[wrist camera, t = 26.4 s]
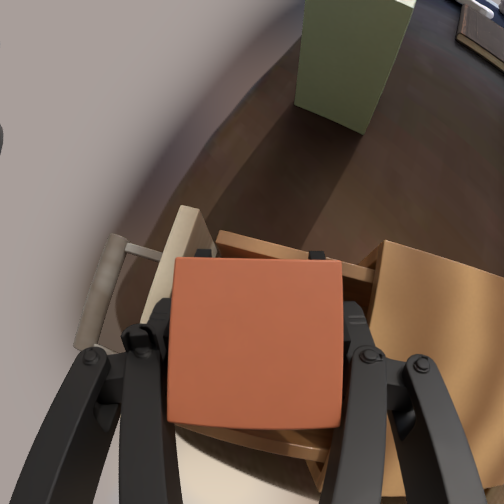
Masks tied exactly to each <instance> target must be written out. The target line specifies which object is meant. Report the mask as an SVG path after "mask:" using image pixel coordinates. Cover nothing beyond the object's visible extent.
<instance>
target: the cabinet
mask: <svg viewBox="0 0 504 504" xmlns="http://www.w3.org/2000/svg"><path fill="white" fill-rule="evenodd" d="M358 266H361V267H365V268H369V269H373V270H375V275H374V281H373V286H372V292H371V297H370V302H369V307H368V312H367V317H366V321H367V324H368V326H369V329H370V332H371V335H372V337H373V340H374V343H375V346H376V347H377V348H379V349H381V350H382V351H383V352H384V354H385V356H386V357H387V358H389V359H393V360H398V361H404V362H406V361H407V359H408V358H409V357H410V356H411V355H415V354H423V355H426V356H429V357H430V358H431V359H433V360H434V362H435V363H436V365H437V367H438V369H439V371H440V373H441V376H442V378H443V380H444V382H445V385H446V387H447V389H448V392H449V394H450V396H451V399H452V401H453V404H454V406H455V409H456V411H457V414H458V416H459V419H460V421H461V424H462V427H463V429H464V432H465V435H466V437H467V440H468V443H469V446H470V449H471V451H472V454H473V457H474V460H475V463H476V467H477V470H478V473H479V476H480V479H481V483H482V486H483V489H484V488H490V487H495V486H499V485H504V278H503V277H500V276H497V275H494V274H491V273H488V272H485V271H482V270H479V269H476V268H473V267H470V266H467V265H464V264H461V263H458V262H455V261H452V260H449V259H446V258H443V257H440V256H436V255H433V254H430V253H427V252H424V251H420V250H417V249H414V248H411V247H407V246H404V245H401V244H397V243H394V242H390V241H387V240H384V241H383V242H382V243H381V244H380V245H379V246H377V247H376V248H375V249H374V250H373V251H372V252H371V253H370V254H369V255H368V256H367V257H366V258H364V259H363V260H362V261H361V262H360V263H359V264H358ZM330 448H331V447H330ZM329 454H330V450H329V453H328V456H327V458H326V461H325V463H324V462H317V461H311V460H305V461H306V463H307V466H308V468H309V471H310V473H311V475H312V478H313V480H314V483H315V485H316V487H317V489H318V492H322V488H323V483H324V478H325V474H326V469H327V464H328V459H329ZM381 496H386V497H395V496H406V495H405V489H404V484H403V479H402V474H401V470H400V465H399V460H398V456H397V451H396V447H395V443H394V439H393V435H392V430H391V426H390V422H389V419H388V415H387V428H386V449H385V463H384V475H383V486H382V495H381Z"/></svg>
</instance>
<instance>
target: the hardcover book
mask: <svg viewBox="0 0 504 504" xmlns="http://www.w3.org/2000/svg"><path fill="white" fill-rule="evenodd" d="M456 40H457V41H458V42H459V43H461V44H462V45H464V46H466V47H467V48H469V49H470V50H472V51H473V52H475V53H476V54H478V55H479V56H481V57H482V58H484V59H485V60H486V61H488V62H489V63H491V64H492V65H493V66H495V67H496V68H497V69H499V70H500V71H501V72H503V73H504V29H503V28H502V27H500V26H499V25H498V24H496V23H495V22H493V21H492V20H490V19H489V18H487V17H486V16H484V15H483V14H481V13H480V12H478V11H477V10H475V9H473V8H472V7H470V6H468V5H467V4H463V5H462V8H461V14H460V19H459V25H458V30H457V35H456Z"/></svg>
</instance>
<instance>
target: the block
mask: <svg viewBox="0 0 504 504" xmlns="http://www.w3.org/2000/svg"><path fill="white" fill-rule="evenodd" d="M342 386H343V283H342V263H341V261H339V260H300V259H249V258H204V257H176V258H175V263H174V273H173V285H172V298H171V312H170V327H169V346H168V372H167V421H168V422H170V423H177V424H185V425H194V426H204V427H216V428H230V429H251V430H304V429H326V428H338V427H340V425H341V408H342Z"/></svg>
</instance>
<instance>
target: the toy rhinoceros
mask: <svg viewBox="0 0 504 504" xmlns="http://www.w3.org/2000/svg"><path fill="white" fill-rule="evenodd" d="M499 11H500V12H501V13H503V14H504V0H501V4H500V5H499Z"/></svg>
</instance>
